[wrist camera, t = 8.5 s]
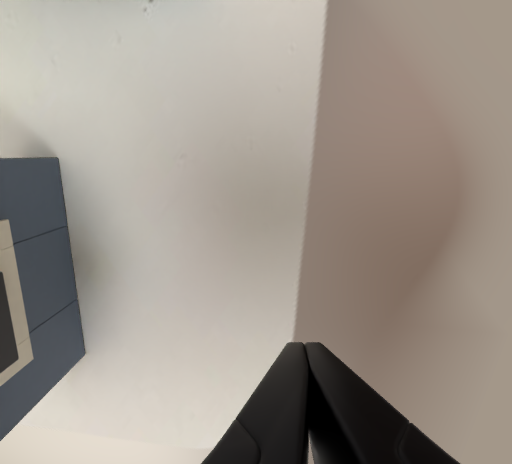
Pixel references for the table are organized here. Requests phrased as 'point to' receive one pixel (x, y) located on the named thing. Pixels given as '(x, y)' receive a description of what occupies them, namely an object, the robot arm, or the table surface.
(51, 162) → the wall panel
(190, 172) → the table surface
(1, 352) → the switch button
